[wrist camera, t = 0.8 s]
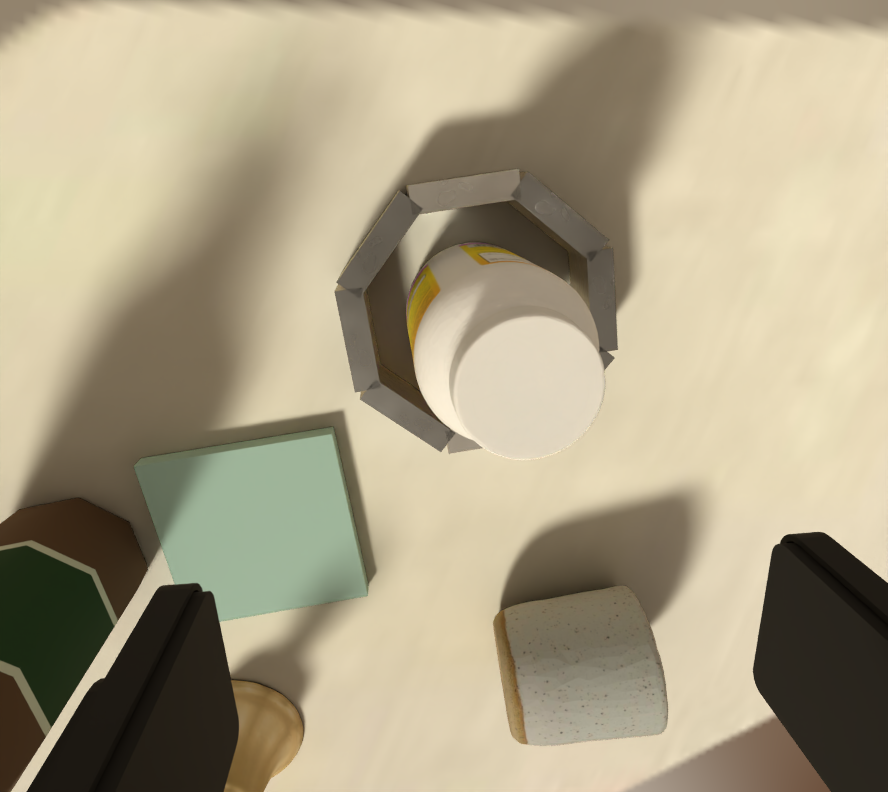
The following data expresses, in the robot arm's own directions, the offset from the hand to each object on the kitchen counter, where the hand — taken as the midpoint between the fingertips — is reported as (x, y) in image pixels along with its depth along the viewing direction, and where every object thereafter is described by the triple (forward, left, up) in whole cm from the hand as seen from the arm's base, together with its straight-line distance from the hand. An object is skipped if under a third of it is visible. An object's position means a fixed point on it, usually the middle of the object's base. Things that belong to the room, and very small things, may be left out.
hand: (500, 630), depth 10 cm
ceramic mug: (-5, +20, -22) cm, 30 cm away
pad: (+11, +9, -22) cm, 26 cm away
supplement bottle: (-2, -1, -22) cm, 22 cm away
